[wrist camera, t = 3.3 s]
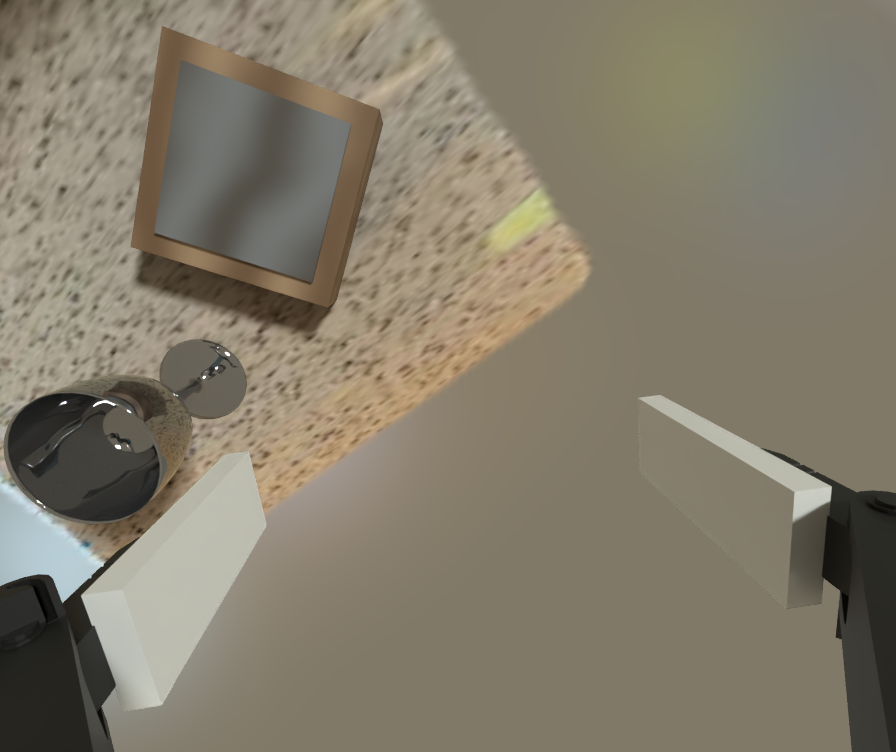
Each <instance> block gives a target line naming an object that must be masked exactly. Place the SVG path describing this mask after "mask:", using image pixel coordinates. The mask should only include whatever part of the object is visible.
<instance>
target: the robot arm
mask: <svg viewBox="0 0 896 752" xmlns="http://www.w3.org/2000/svg"><path fill="white" fill-rule="evenodd" d="M638 414H639V459H640V460H639V461H640V473H641V474H642V475H643V476H644V477H645V478H646V479H647V480H648V481H650V482H651V483H652V484H653V485H654V486H655V487H656V488H657V489H658V490H659V491H660V492H662V494H664V495H665V496H666V497H667V498H668V499H669V500H670V501H671V502H672V503H673V504H674V505H675V506H676V507H677V508H678V509H680V510H681V511H682V512H683V513H684V514H685V515H686V516H687V517H688V518H689V519H690V520H691V521H693V522H694V523H695V524H696V525H697V526H698V527H699V528H700V529H701V530H702V531H703V532H704V533H705V534H706V535H708V536H709V537H710V538H711V539H712V540H713V541H714V542H715V543H716V544H717V545H718V546H719V547H720V548H721V549H723V550H724V551H725V552H726V553H727V554H728V555H729V556H730V557H731V558H732V559H733V560H734V561H735V562H737V563H738V564H739V565H740V566H741V567H742V568H743V569H744V570H745V571H746V572H747V573H748V574H749V575H751V576H752V577H753V578H754V579H755V580H756V581H757V582H758V583H759V584H760V585H761V586H762V587H763V588H765V589H766V590H767V591H768V592H769V593H770V594H771V595H772V596H773V597H774V598H775V599H776V600H778V602H780V603H781V604H782V605H783V606H784V607H785V608H786V609H790V608H797V607H803V606H810V605H817V604H821V601H822V591H823V579H824V578H825V579H826V580H827V581H828V582H830V583H831V584H832V585H833V586H835V587H836V588H837V589H839V590H840V600H839V610H838V619H837V629H836V638H839V639H842V648H843V658H844V670H845V681H846V692H847V703H848V713H849V725H850V736H851V746H852V752H896V493H892V492H884V491H860V492H855V491H853V490H851V489H849V488H847V487H845V486H843V485H841V484H839V483H837V482H835V481H834V480H832V479H830V478H828V477H826V476H824V475H822V474H820V473H818V472H816V473H815V472H814V470H812V469H810V468H808V467H806V466H805V465H800V463H798V462H797V461H795V460H793V459H791V458H789V457H787V456H785V455H783V454H780V453H777V452H773V451H770V450H767V449H763V448H758V447H756V446H755V445H753V444H751V443H749V442H747V441H745V440H743V439H742V438H740V437H738V436H736V435H734V434H732V433H730V432H728V431H727V430H725V429H722V428H721V427H719V426H717V425H715V424H713V423H712V422H710V421H708V420H706V419H704V418H702V417H700V416H698V415H697V414H695V413H693V412H691V411H689V410H687V409H685V408H683V407H681V406H680V405H678V404H676V403H674V402H672V401H670V400H668V399H667V398H665V397H663V396H661V395H658V396H651V397H644V398H638ZM265 527H266V521H265V517H264V513H263V509H262V505H261V500H260V496H259V492H258V488H257V484H256V480H255V476H254V471H253V467H252V463H251V459H250V455H249V451H247V452H239V453H232V454H225V455H224V456H223V457H222V458H221V459H220V460H219V461H218V462H217V463H216V464H215V465H214V466H213V467H212V468H211V469H210V470H209V471H208V472H207V473H206V474H205V475H204V476H203V477H202V478H201V479H200V480H198V481H197V482H196V483H195V484H194V485H193V486H192V487H191V488H190V489H189V490H188V491H187V492H186V493H185V494H184V495H183V496H182V497H181V498H180V499H179V500H178V501H177V502H176V503H175V504H174V505H173V506H172V507H171V508H170V509H169V510H168V511H167V512H166V513H165V514H164V515H163V516H162V517H161V518H160V519H159V520H158V521H157V522H156V523H155V524H154V525H152V526H151V527H150V528H149V529H148V530H147V531H146V532H145V533H144V534H143V535H142V536H141V537H139V538H137V539H135V540H134V541H132V542H131V543H129V544H128V545H126V546H124V547H123V548H121V549H120V550H118V551H117V552H116V553H115V554H114V555H113V556H112V557H111V558H110V559H109V560H108V561H107V562H106V563H104V567H100V568H99V569H98V570H97V571H96V572H95V573H94V574H93V575H92V578H90V579H88V580H87V581H86V582H85V583H83V584H82V585H81V586H80V587H79V588H78V589H77V590H76V591H75V592H74V593H73V594H72V595H71V596H70V597H69V598H68V599H67V600H65V601H64V602H63V603H62V602H61V599H60V597H59V594H58V591H57V589H56V586H55V583H54V581H53V579H52V578H51V577H50V576H49V575H33V576H28V577H24V578H21V579H18V580H15V581H12V582H9V583H6V584H4V585H2V586H0V752H114V749H113V744H112V740H111V737H110V732H109V728H108V724H107V720H106V717H105V715H104V712H103V710H102V707H101V706H102V705H103V703H104V702H105V700H106V699H107V698H108V696H109V695H110V693H111V692H112V690H113V689H114V688H115V690H116V692H117V695H118V697H119V701H120V703H121V706H122V709H123V711H128V710H134V709H141V708H147V707H153V706H160V705H162V704H163V702H164V700H165V698H166V697H167V695H168V694H169V692H170V690H171V689H172V686H173V685H174V683H175V682H176V680H177V678H178V676H179V675H180V673H181V671H182V670H183V668H184V666H185V664H186V663H187V661H188V659H189V658H190V656H191V654H192V652H193V651H194V649H195V647H196V646H197V644H198V642H199V640H200V639H201V637H202V635H203V634H204V632H205V630H206V628H207V627H208V625H209V623H210V622H211V620H212V618H213V616H214V615H215V613H216V611H217V610H218V608H219V606H220V604H221V603H222V601H223V599H224V598H225V596H226V594H227V592H228V591H229V589H230V587H231V586H232V584H233V582H234V580H235V579H236V577H237V575H238V573H239V572H240V570H241V568H242V567H243V565H244V563H245V561H246V560H247V558H248V556H249V555H250V553H251V551H252V549H253V548H254V546H255V544H256V543H257V541H258V539H259V537H260V536H261V534H262V532H263V531H264V529H265Z"/></svg>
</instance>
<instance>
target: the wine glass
mask: <svg viewBox="0 0 896 752" xmlns="http://www.w3.org/2000/svg"><path fill="white" fill-rule="evenodd" d="M245 392H246V376H245V372H244V369H243V367H242V365H241V364H240V362H239V361H238V359H237V358H236V357H235V356H234V355H233V354H232V353H231V352H230V351H229V350H228V349H226V348H225V347H223V346H221V345H219V344H217V343H214V342H211V341H208V340H188V341H184V342H182V343H179V344H177V345H176V346H174V347H173V348H171V349H170V350H169V351H168V352H167V354H166V355H165V357H164V358H163V360H162V363H161V366H160V382H159V381H157V380H155V379H152V378H148V377H145V376H137V375H113V376H104V377H99V378H95V379H90V380H85V381H81V382H78V383H75V384H72V385H69V386H66V387H63V388H61V389H58V390H56V391H53V392H51V393H49V394H46V395H44V396H42V397H39V398H37V399H35V400H33V401H32V402H30V403H29V404H27V405H26V406H24V407H23V408H22V409H21V410H20V411H19V412H18V413H17V414H16V415H15V416H14V417H13V419H12V420H11V422H10V423H9V425H8V428H7V431H6V434H5V438H4V456H5V461H6V464H7V467H8V470H9V472H10V474H11V476H12V478H13V480H14V482H15V483H16V484H17V486H18V487H19V488H20V490H21V491H22V492H23V493H24V494H25V495H26V496H27V497H28V498H29V499H30V500H31V501H33V502H34V503H35V504H37V505H38V506H39V507H41V508H42V509H44V510H46V511H48V512H50V513H51V514H53V515H55V516H58V517H61V518H63V519H66V520H69V521H74V522H78V523H86V524H107V523H111V522H116V521H120V520H122V519H125V518H128V517H130V516H132V515H133V514H135V513H137V512H138V511H140V510H141V509H142V508H143V507H144V506H145V505H147V504H148V503H149V502H150V501H151V500H152V499H153V498H154V497H155V496H156V495H157V494H158V493H159V492H160V491H161V490H162V489H163V488H164V486H165V485H166V484H167V483H168V482H169V481H170V479H171V478H172V477H173V475H174V474H175V473H176V471H177V469H178V468H179V466H180V465H181V463H182V462H183V459H184V457H185V455H186V453H187V450H188V448H189V446H190V442H191V438H192V430H193V424H192V419H191V416H193V417H197V418H203V419H214V418H219V417H223V416H225V415H228V414H229V413H231V412H232V411H234V410H235V409H236V408H237V407H238V406H239V405H240V403H241V402H242V400H243V398H244V396H245Z"/></svg>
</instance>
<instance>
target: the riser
mask: <svg viewBox="0 0 896 752" xmlns="http://www.w3.org/2000/svg"><path fill="white" fill-rule="evenodd" d="M382 126H383V122H382V118H381V114H380V110H379V109H377V108H374V107H372V106H369V105H366V104H364V103H361V102H358V101H356V100H353V99H351V98H348V97H345V96H343V95H340V94H338V93H335V92H332V91H330V90H327V89H325V88H322V87H319V86H317V85H314V84H312V83H309V82H306V81H304V80H301V79H299V78H296V77H293V76H291V75H288V74H286V73H283V72H280V71H278V70H275V69H273V68H270V67H267V66H265V65H262V64H260V63H257V62H254V61H252V60H249V59H247V58H244V57H241V56H239V55H236V54H234V53H231V52H228V51H226V50H223V49H221V48H218V47H215V46H213V45H210V44H208V43H205V42H202V41H200V40H197V39H195V38H192V37H189V36H187V35H184V34H182V33H179V32H176V31H174V30H171V29H169V28H166V27H163V26H162V30H161V37H160V44H159V51H158V58H157V66H156V73H155V80H154V87H153V94H152V101H151V108H150V115H149V122H148V129H147V136H146V143H145V150H144V157H143V164H142V171H141V178H140V185H139V192H138V199H137V206H136V213H135V220H134V227H133V234H132V241H131V247H133V248H136V249H139V250H142V251H145V252H149V253H152V254H155V255H158V256H162V257H165V258H168V259H171V260H175V261H178V262H181V263H184V264H188V265H191V266H194V267H197V268H201V269H204V270H207V271H210V272H214V273H217V274H220V275H223V276H227V277H230V278H233V279H236V280H240V281H243V282H246V283H249V284H253V285H256V286H259V287H262V288H266V289H269V290H272V291H275V292H279V293H282V294H285V295H288V296H292V297H295V298H298V299H301V300H305V301H308V302H311V303H314V304H317V305H321V306H324V307H327V308H328V307H329V306H331V305H332V304H333V303H334V302H335V301H336V300H337V296H338V292H339V289H340V285H341V281H342V277H343V274H344V270H345V266H346V262H347V258H348V255H349V251H350V247H351V243H352V239H353V236H354V232H355V228H356V224H357V220H358V217H359V213H360V209H361V205H362V202H363V198H364V194H365V190H366V186H367V183H368V179H369V175H370V171H371V167H372V164H373V160H374V156H375V152H376V148H377V145H378V141H379V137H380V133H381V130H382Z"/></svg>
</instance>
